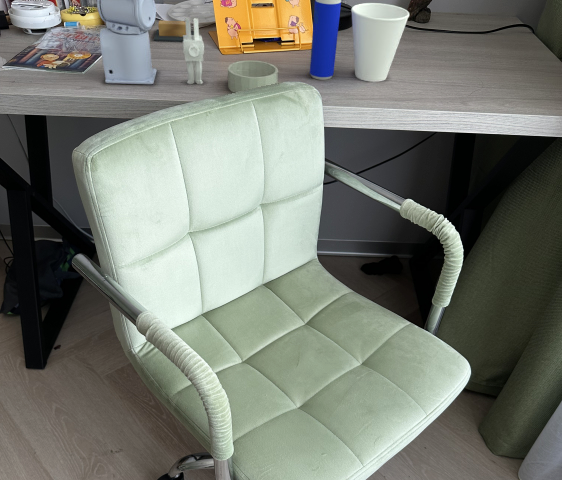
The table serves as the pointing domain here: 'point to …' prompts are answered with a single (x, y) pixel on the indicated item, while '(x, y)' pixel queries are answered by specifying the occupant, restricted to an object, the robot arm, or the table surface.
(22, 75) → the table surface
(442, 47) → the table surface
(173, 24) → the tan wooden block
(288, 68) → the table surface
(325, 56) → the beverage can
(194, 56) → the toy robot
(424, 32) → the table surface
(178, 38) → the coaster
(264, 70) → the tin
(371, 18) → the cup
